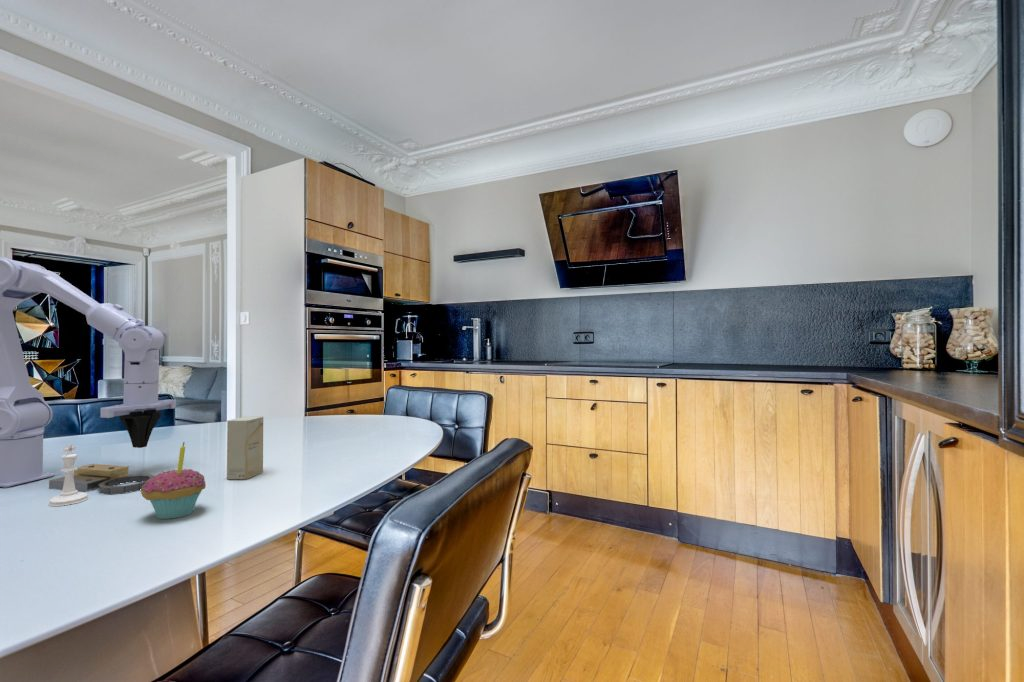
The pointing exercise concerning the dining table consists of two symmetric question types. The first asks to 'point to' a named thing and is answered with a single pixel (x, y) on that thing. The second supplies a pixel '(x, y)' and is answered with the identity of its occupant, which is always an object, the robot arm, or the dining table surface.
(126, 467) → the tan wooden block
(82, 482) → the dark gray flat piece
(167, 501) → the cupcake
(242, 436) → the skincare box
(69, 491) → the chess piece
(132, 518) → the dining table surface
